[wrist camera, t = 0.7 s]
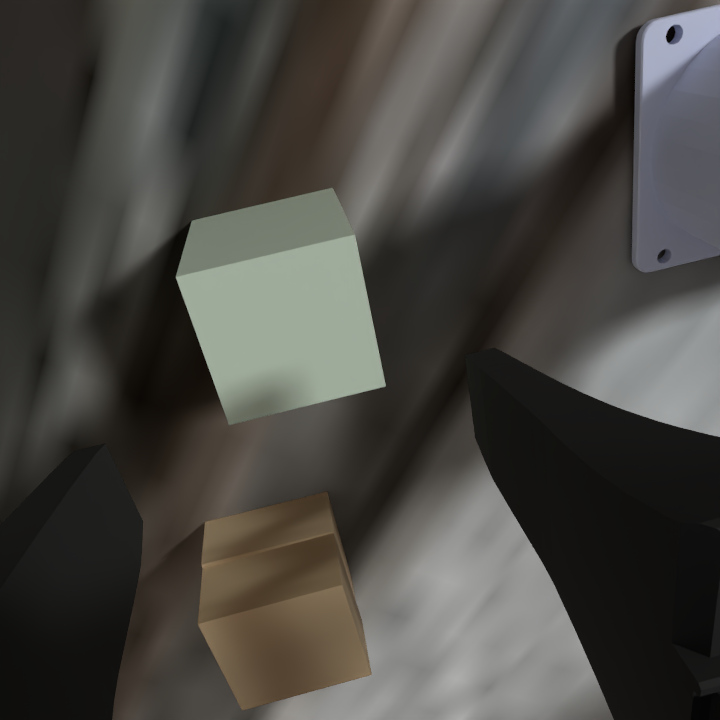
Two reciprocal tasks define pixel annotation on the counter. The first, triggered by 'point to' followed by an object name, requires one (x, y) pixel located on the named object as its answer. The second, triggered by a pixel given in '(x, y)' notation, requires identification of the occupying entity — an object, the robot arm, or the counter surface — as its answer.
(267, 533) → the slab lower
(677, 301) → the counter surface
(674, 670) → the robot arm
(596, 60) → the counter surface
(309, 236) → the sage block
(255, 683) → the slab upper
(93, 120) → the counter surface
